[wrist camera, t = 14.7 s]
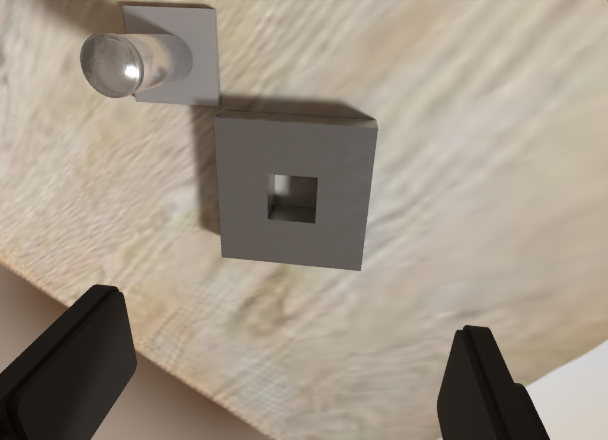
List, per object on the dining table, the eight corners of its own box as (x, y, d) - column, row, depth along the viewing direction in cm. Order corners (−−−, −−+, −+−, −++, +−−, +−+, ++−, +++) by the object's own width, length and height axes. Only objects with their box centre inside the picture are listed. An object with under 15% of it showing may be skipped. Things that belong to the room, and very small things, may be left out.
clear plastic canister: (146, 31, 39) (74, 31, 29) (191, 33, 38) (133, 33, 28) (153, 81, 41) (87, 96, 31) (195, 83, 40) (143, 99, 30)
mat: (127, 6, 39) (122, 5, 38) (215, 9, 38) (212, 8, 37) (140, 99, 43) (135, 101, 42) (220, 105, 42) (217, 106, 41)
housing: (225, 110, 42) (213, 117, 38) (376, 119, 40) (378, 128, 37) (231, 240, 49) (221, 257, 45) (360, 252, 47) (360, 271, 44)
